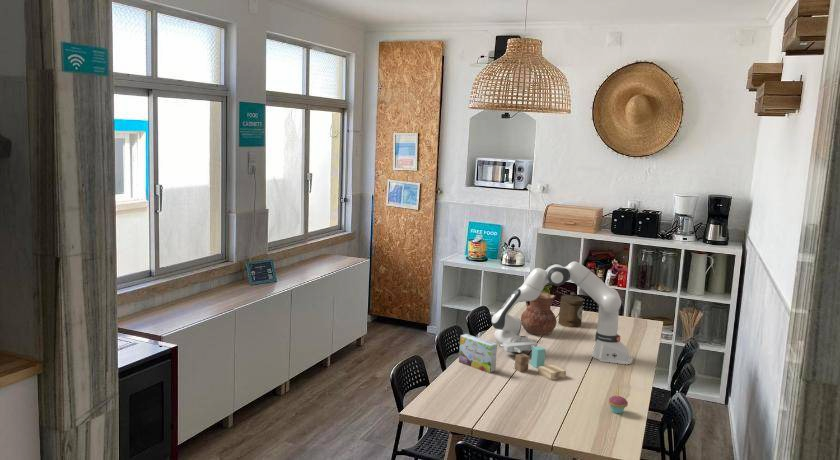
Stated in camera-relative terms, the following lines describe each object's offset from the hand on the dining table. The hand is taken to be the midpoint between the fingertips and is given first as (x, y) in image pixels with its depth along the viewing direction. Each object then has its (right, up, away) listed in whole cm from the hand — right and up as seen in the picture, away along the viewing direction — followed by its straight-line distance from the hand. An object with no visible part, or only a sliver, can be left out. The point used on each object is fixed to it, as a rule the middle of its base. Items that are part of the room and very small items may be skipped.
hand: (527, 350), depth 367 cm
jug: (+15, +2, +53) cm, 55 cm away
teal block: (+4, -7, -8) cm, 11 cm away
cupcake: (+31, -17, -63) cm, 72 cm away
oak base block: (+9, -9, -21) cm, 25 cm away
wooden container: (+40, +3, +76) cm, 86 cm away
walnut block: (-6, -7, -16) cm, 18 cm away
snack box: (-29, -6, -14) cm, 33 cm away
